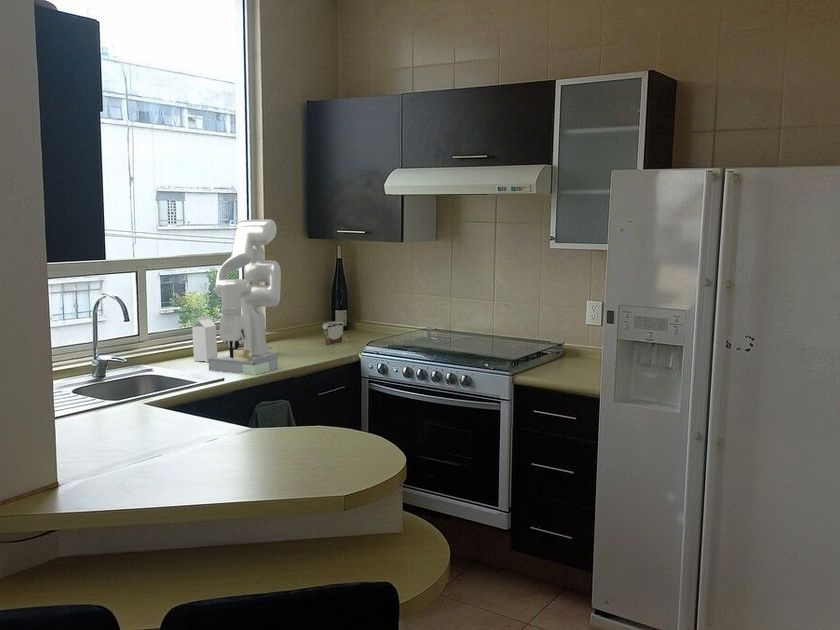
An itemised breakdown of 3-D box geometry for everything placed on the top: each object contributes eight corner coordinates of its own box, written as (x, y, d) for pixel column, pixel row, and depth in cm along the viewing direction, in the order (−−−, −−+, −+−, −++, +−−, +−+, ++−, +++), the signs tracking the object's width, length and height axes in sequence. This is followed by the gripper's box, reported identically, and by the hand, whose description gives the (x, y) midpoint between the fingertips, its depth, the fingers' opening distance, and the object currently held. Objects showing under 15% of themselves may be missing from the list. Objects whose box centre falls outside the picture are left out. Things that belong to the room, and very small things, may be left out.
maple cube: (242, 360, 325) (241, 348, 324) (251, 361, 323) (251, 349, 322) (233, 362, 321) (233, 350, 320) (243, 363, 318) (242, 350, 318)
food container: (335, 341, 393) (334, 320, 392) (344, 342, 390) (343, 321, 388) (317, 344, 383) (316, 324, 382) (327, 345, 380) (326, 324, 378)
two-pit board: (232, 364, 338) (231, 349, 337) (277, 368, 327) (277, 352, 326) (209, 370, 326) (208, 354, 325) (255, 375, 315) (254, 358, 314)
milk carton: (217, 359, 350) (215, 316, 347) (207, 362, 344) (204, 318, 341) (204, 358, 353) (202, 315, 350) (193, 361, 346) (191, 317, 344)
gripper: (211, 312, 322) (213, 357, 325) (239, 314, 315) (241, 360, 317) (224, 310, 329) (226, 354, 331) (252, 311, 322) (254, 357, 324)
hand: (234, 357), depth 324 cm, fingers closed
